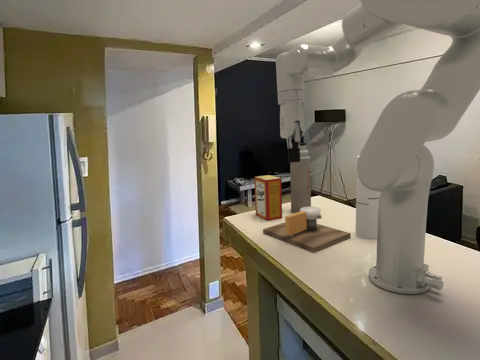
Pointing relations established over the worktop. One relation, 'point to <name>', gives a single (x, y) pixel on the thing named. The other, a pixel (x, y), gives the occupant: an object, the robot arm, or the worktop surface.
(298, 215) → the cap
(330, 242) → the post base
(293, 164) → the thermos bottle
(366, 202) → the cylindrical container
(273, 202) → the baking soda box
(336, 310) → the worktop surface
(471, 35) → the robot arm
